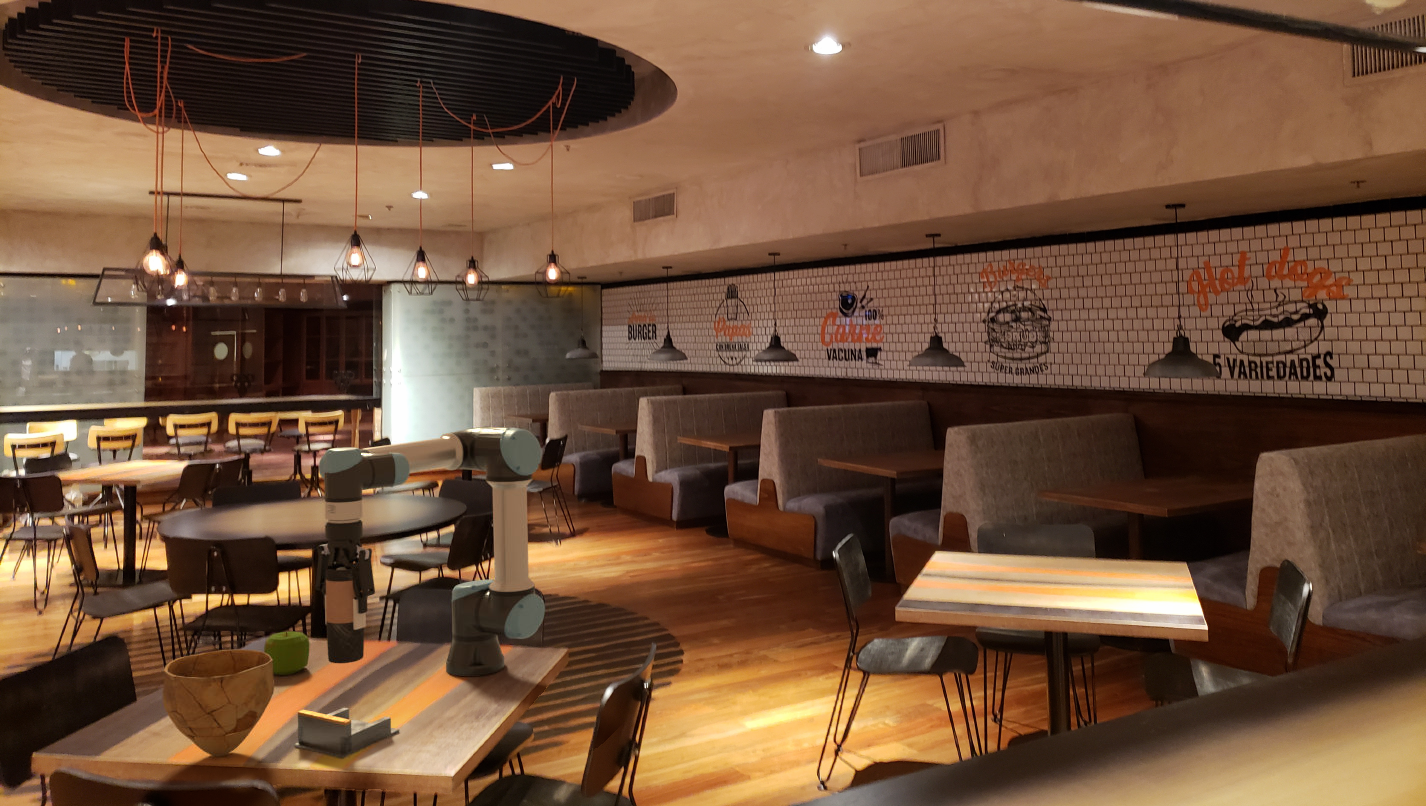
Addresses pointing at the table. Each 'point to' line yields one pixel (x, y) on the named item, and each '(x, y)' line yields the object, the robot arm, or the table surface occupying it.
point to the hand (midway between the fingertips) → (345, 625)
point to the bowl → (218, 696)
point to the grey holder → (339, 732)
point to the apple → (287, 652)
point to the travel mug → (342, 617)
